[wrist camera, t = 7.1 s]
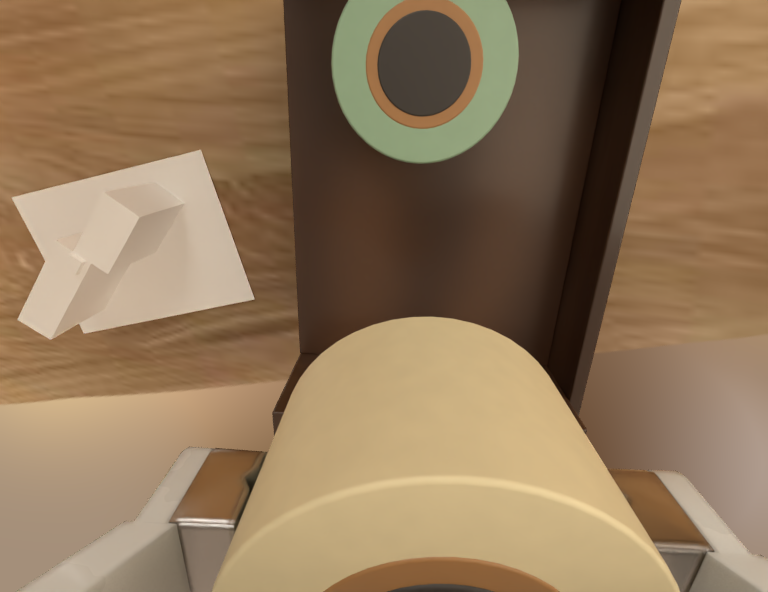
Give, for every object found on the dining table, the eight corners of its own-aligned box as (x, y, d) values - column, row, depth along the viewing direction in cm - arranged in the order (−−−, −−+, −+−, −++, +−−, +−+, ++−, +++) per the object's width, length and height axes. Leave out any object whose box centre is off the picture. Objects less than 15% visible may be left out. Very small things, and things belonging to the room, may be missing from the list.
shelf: (331, 307, 32) (274, 443, 18) (326, -6, 24) (222, -200, 10) (508, 316, 31) (594, 461, 17) (558, -1, 24) (776, -194, 10)
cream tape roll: (292, 532, 10) (227, 774, 6) (276, 308, 8) (162, 470, 4) (537, 545, 10) (623, 796, 6) (591, 321, 8) (776, 500, 4)
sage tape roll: (346, 155, 18) (331, 160, 14) (346, -8, 16) (328, -54, 12) (484, 160, 18) (505, 167, 14) (503, -5, 16) (534, -50, 12)
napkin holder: (85, 335, 33) (25, 373, 28) (9, 198, 30) (-78, 211, 24) (256, 299, 32) (226, 331, 26) (199, 146, 28) (151, 148, 22)
